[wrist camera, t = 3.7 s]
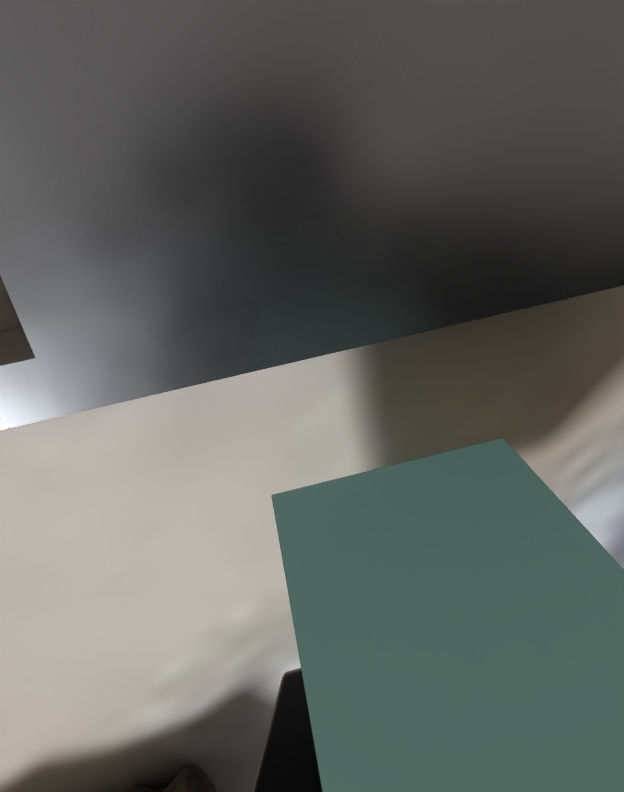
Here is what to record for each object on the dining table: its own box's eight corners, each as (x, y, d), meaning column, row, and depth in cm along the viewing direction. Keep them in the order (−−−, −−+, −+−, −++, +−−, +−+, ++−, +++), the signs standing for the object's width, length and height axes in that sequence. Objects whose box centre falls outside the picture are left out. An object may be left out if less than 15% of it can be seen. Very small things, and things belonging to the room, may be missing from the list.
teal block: (502, 437, 10) (995, 974, 4) (509, 607, 12) (851, 1163, 6) (271, 495, 10) (388, 1175, 4) (314, 660, 12) (442, 1303, 5)
